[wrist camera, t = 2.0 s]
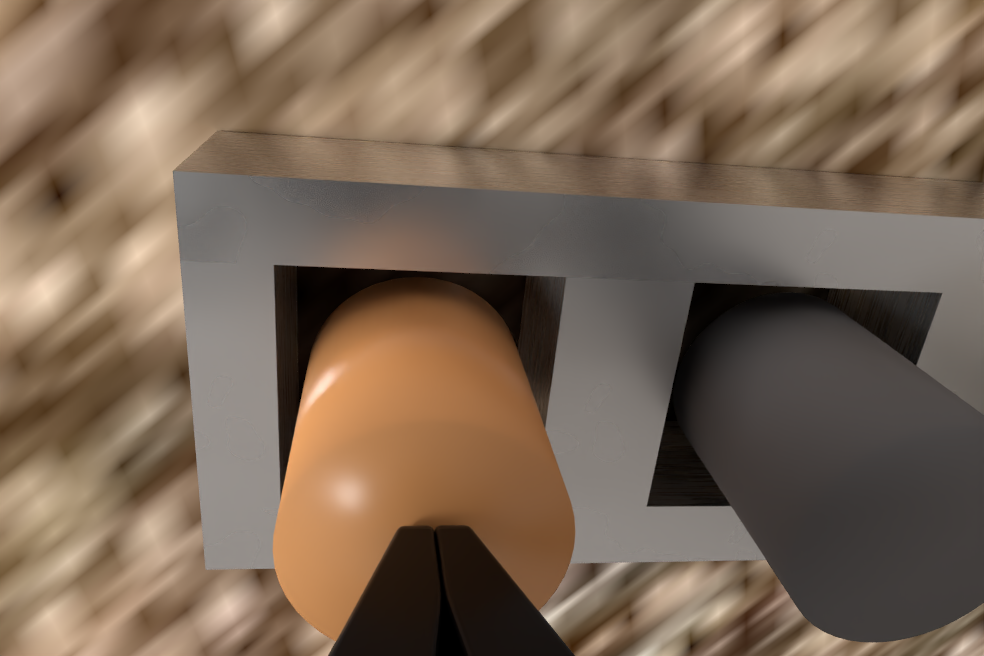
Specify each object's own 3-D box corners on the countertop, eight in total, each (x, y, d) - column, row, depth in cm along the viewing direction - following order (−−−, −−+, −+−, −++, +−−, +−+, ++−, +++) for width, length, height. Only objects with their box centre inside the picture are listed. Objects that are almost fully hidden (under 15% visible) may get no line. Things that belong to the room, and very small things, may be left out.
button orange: (529, 281, 13) (595, 421, 9) (507, 462, 14) (555, 653, 10) (307, 271, 12) (267, 418, 8) (309, 462, 13) (276, 663, 9)
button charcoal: (885, 296, 14) (1091, 427, 10) (830, 463, 15) (989, 638, 11) (695, 287, 13) (831, 424, 9) (657, 463, 14) (759, 646, 10)
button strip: (1198, 197, 16) (1362, 240, 13) (1066, 470, 19) (1179, 552, 16) (217, 131, 13) (172, 170, 10) (236, 468, 16) (205, 569, 13)
